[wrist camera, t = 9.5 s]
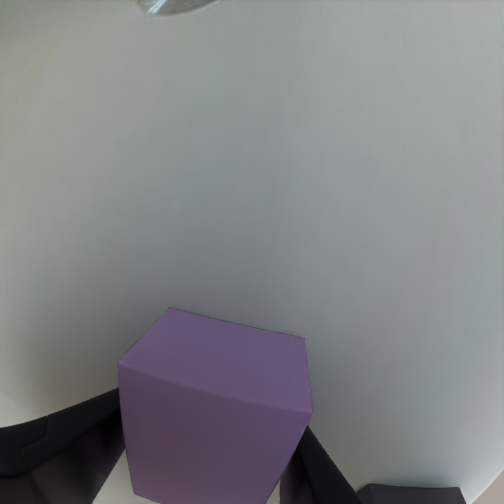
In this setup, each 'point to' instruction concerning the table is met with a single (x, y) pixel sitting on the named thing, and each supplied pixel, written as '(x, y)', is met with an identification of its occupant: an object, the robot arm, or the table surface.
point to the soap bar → (211, 409)
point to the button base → (410, 495)
